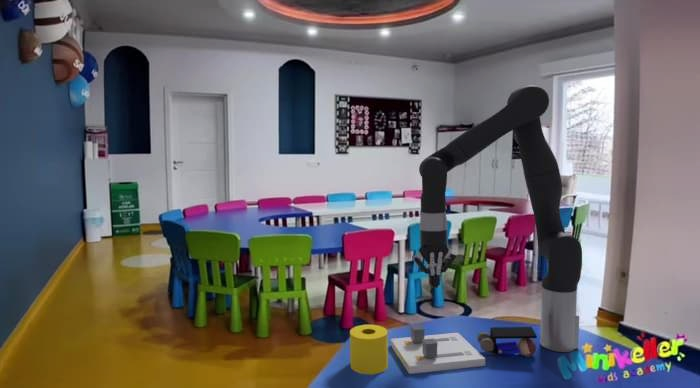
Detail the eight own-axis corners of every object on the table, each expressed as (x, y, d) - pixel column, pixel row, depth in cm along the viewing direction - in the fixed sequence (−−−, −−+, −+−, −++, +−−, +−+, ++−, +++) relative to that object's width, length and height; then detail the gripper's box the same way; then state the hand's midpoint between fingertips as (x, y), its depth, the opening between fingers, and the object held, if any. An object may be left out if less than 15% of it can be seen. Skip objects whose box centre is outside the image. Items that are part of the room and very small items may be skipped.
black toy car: (482, 364, 130) (540, 360, 128) (479, 337, 130) (537, 333, 128) (478, 353, 137) (533, 349, 135) (476, 328, 136) (530, 323, 134)
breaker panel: (457, 339, 144) (457, 332, 143) (485, 365, 126) (485, 358, 126) (390, 345, 140) (390, 338, 140) (409, 373, 122) (409, 366, 122)
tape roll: (391, 359, 131) (391, 326, 130) (382, 376, 121) (382, 340, 120) (356, 355, 134) (356, 323, 133) (345, 371, 124) (345, 336, 123)
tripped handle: (421, 337, 139) (421, 324, 138) (424, 342, 136) (424, 329, 135) (410, 338, 138) (410, 325, 138) (413, 343, 135) (413, 330, 135)
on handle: (433, 352, 129) (433, 338, 129) (437, 357, 126) (437, 343, 126) (422, 353, 128) (422, 339, 128) (426, 358, 125) (426, 344, 125)
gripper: (450, 224, 140) (451, 281, 141) (407, 226, 137) (408, 285, 139) (460, 228, 132) (461, 289, 134) (415, 231, 130) (416, 293, 132)
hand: (434, 287), depth 136 cm, fingers closed
